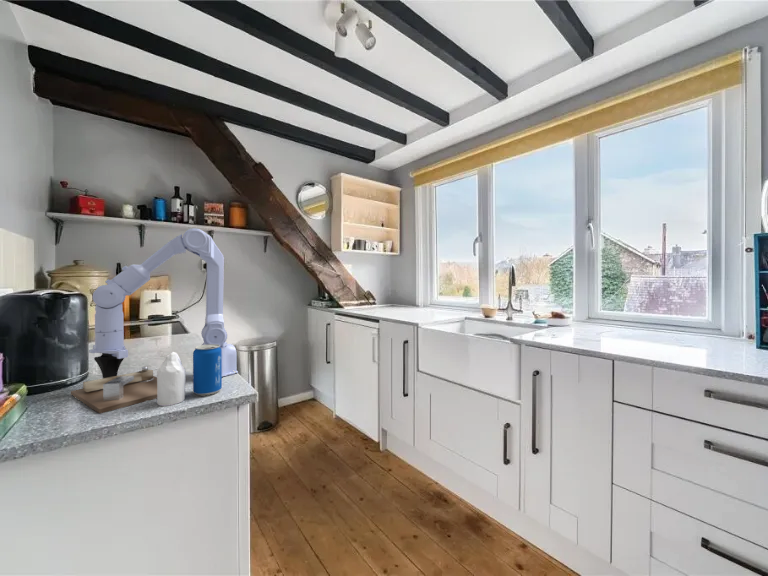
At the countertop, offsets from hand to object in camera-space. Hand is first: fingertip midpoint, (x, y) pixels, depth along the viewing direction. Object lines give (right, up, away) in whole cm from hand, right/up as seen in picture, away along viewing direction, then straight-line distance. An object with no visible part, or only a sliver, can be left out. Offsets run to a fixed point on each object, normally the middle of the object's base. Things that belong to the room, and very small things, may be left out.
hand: (110, 382), depth 84 cm
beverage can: (+27, -2, -1) cm, 27 cm away
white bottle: (+21, -3, -8) cm, 23 cm away
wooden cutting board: (+7, -2, -3) cm, 8 cm away
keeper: (+7, -1, -2) cm, 7 cm away
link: (+3, -1, 0) cm, 3 cm away
